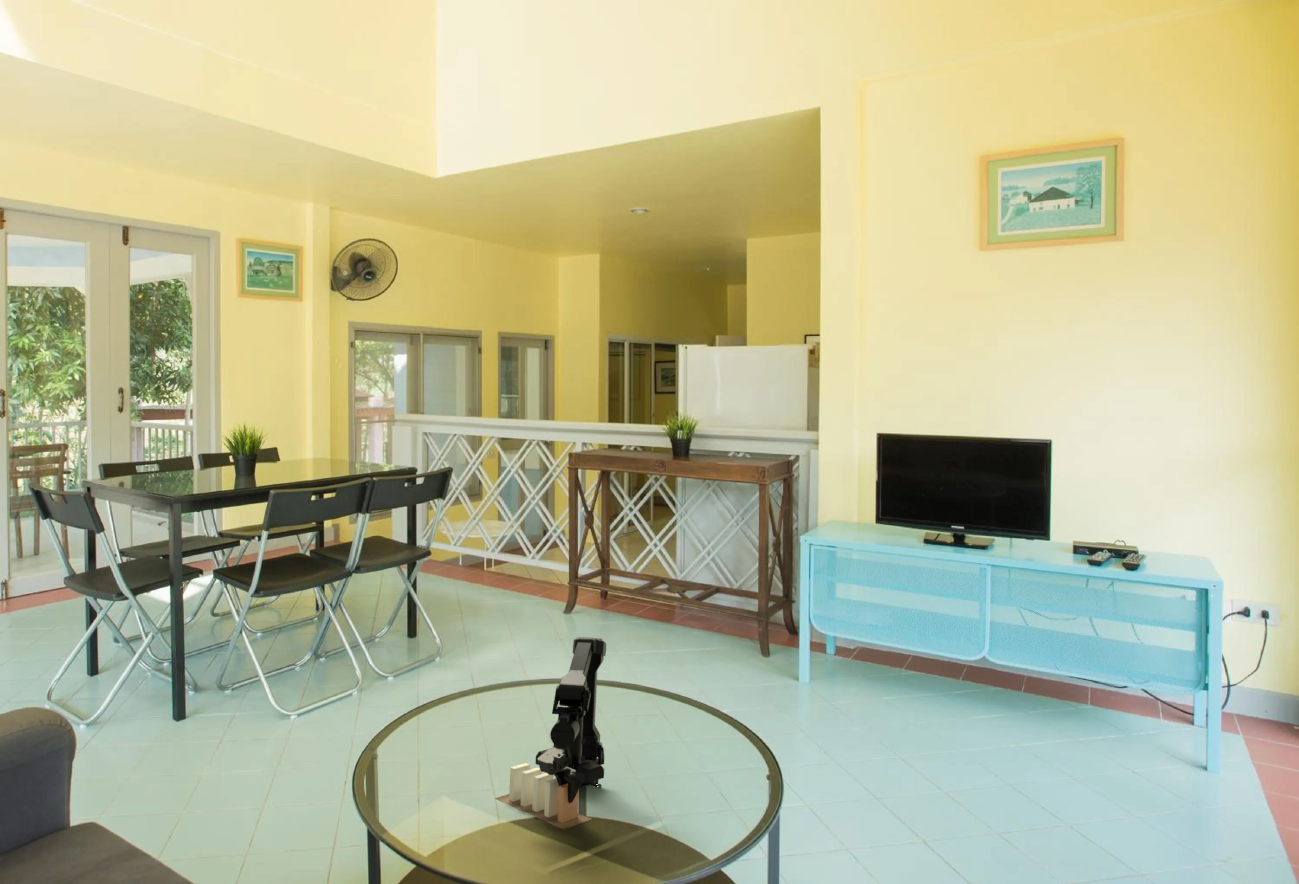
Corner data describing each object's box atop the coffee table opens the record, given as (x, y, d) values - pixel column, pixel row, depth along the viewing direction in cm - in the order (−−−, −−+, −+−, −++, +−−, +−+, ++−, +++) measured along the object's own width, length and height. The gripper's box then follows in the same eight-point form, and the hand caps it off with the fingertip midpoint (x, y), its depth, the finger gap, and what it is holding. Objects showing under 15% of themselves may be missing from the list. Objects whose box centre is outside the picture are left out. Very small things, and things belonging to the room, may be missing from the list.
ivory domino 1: (508, 799, 204) (510, 767, 204) (524, 794, 208) (525, 762, 208) (512, 801, 203) (514, 768, 203) (528, 796, 207) (529, 764, 207)
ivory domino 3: (532, 809, 198) (533, 776, 198) (547, 804, 202) (549, 771, 202) (536, 811, 197) (537, 778, 197) (551, 806, 200) (553, 773, 201)
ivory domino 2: (520, 804, 201) (522, 771, 201) (536, 799, 205) (537, 767, 205) (524, 806, 200) (526, 773, 200) (540, 801, 203) (541, 768, 204)
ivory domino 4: (544, 815, 195) (545, 781, 195) (559, 809, 199) (561, 776, 199) (548, 817, 194) (550, 783, 194) (564, 811, 198) (565, 778, 198)
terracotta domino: (557, 820, 192) (559, 786, 193) (573, 814, 196) (574, 781, 196) (562, 822, 191) (563, 787, 191) (577, 816, 195) (579, 782, 195)
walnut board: (494, 802, 204) (494, 798, 205) (522, 793, 211) (522, 789, 211) (563, 833, 187) (563, 829, 187) (591, 823, 194) (591, 818, 194)
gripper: (519, 732, 195) (516, 799, 194) (571, 751, 182) (568, 822, 181) (554, 724, 203) (551, 787, 202) (606, 741, 191) (604, 809, 189)
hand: (567, 801), depth 193 cm, fingers closed on terracotta domino, 2 cm apart
